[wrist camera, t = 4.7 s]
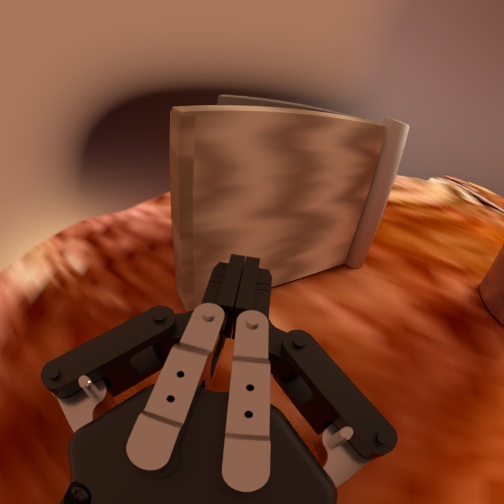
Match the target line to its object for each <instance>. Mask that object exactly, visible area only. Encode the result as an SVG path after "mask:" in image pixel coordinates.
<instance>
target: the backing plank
mask: <svg viewBox="0 0 504 504" xmlns="http://www.w3.org/2000/svg"><path fill="white" fill-rule="evenodd" d="M218 105H237V106H264V107H279V108H291V109H301V110H310V111H318V112H326V113H333V114H339V115H345V116H351V117H356V116H353V115H349V114H345V113H340V112H336V111H332V110H327V109H323V108H318V107H313V106H308V105H302V104H297V103H291V102H284V101H277V100H270V99H263V98H254V97H246V96H235V95H220V96H218ZM357 118H360V117H357ZM362 119H364V118H362ZM382 125H383V126H386V130H385V134H384V138H383V142H382V146H381V150H380V154H379V157H378V161H377V165H376V168H375V172H374V175H373V179H372V182H371V185H370V189H369V192H368V195H367V198H366V201H365V205H364V208H363V211H362V214H361V217H360V220H359V223H358V226H357V229H356V231H355V234H354V237H353V240H352V243H351V246H350V248H349V251H348V254H347V256H346V259H345V262H344V263H345V264H346V265H347V266H349V267H351V268H361V267H362V265H363V263H364V261H365V258H366V256H367V254H368V251H369V249H370V246H371V244H372V241H373V239H374V236H375V233H376V231H377V228H378V226H379V223H380V220H381V217H382V215H383V212H384V209H385V206H386V204H387V201H388V198H389V195H390V192H391V189H392V186H393V183H394V180H395V176H396V173H397V170H398V166H399V163H400V160H401V156H402V153H403V149H404V146H405V142H406V139H407V135H408V130H409V127H410V126H409V125H408V124H405V123H403V122H400V121H398V120H395V119H392V118H389V117H385V116H384V117H383V122H382Z"/></svg>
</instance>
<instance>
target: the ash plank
mask: <svg viewBox="0 0 504 504" xmlns="http://www.w3.org/2000/svg"><path fill="white" fill-rule="evenodd" d="M385 130H386V126H383V125H381V124H378V123H376V122H373V121H370V120H367V119H362V118H357V117H351V116H345V115H339V114H333V113H326V112H318V111H310V110H301V109H291V108H279V107H264V106H237V105H212V106H211V105H208V106H207V105H206V106H182V107H173V110H171V113H170V193H171V218H172V236H173V251H174V263H175V275H176V285H177V293H178V295H179V297H180V300H181V302H182V304H183V307H184V309H185V311H186V312H188V311H192V310H195V308H196V307H197V306H199V305H201V302H202V300H203V297H204V294H205V291H206V288H207V285H208V282H209V279H210V276H211V273H212V271H213V268H214V267H215V266H216V265H217V264H218V263H219V262H224V263H229V260H230V256H231V254H237V255H243V256H245V260H246V256H249V257H256V258H260V263H259V268H262V269H268V270H269V271H270V273H271V275H272V285H271V287H274V286H277V285H280V284H283V283H286V282H289V281H293V280H296V279H299V278H302V277H305V276H308V275H311V274H314V273H317V272H320V271H323V270H326V269H329V268H332V267H335V266H338V265H341V264H344V262H345V259H346V256H347V254H348V251H349V248H350V246H351V243H352V240H353V237H354V234H355V231H356V229H357V226H358V223H359V220H360V217H361V214H362V211H363V208H364V205H365V201H366V198H367V195H368V192H369V189H370V185H371V182H372V179H373V175H374V172H375V168H376V165H377V161H378V157H379V154H380V150H381V146H382V142H383V138H384V134H385Z"/></svg>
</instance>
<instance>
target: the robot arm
mask: <svg viewBox="0 0 504 504" xmlns="http://www.w3.org/2000/svg"><path fill="white" fill-rule="evenodd" d="M259 263H260V258H256V257H249V256H246V260H245V256H243V255H237V254H231V256H230V260H229V263H224V262H219V263H218V264H217V265H216V266H215V267H214V268H213V271H212V273H211V276H210V279H209V282H208V285H207V288H206V291H205V294H204V297H203V300H202V302H201V305H199V306H197V307H196V308H195V310H194V311H192V312H189V313H182V314H175V313H174V312H173V310H172V309H170V308H169V307H166V306H156V307H153V308H151V309H149V310H147V311H145V312H143V313H141V314H139V315H137V316H136V317H134V318H132V319H130V320H128V321H126V322H124V323H122V324H120V325H119V326H117V327H115V328H113V329H111V330H109V331H107V332H105V333H103V334H101V335H99V336H98V337H96V338H94V339H92V340H90V341H88V342H86V343H84V344H82V345H80V346H79V347H77V348H75V349H73V350H71V351H69V352H67V353H65V354H63V355H61V356H59V357H58V358H56V359H54V360H52V361H50V362H48V363H47V364H46V365H45V366H44V367H43V369H42V372H41V379H42V382H43V384H44V385H45V386H46V387H47V388H48V389H49V390H50V391H51V393H52V394H53V395H54V396H55V397H56V398H57V399H58V401H59V403H60V406H61V408H62V410H63V412H64V414H65V416H66V418H67V420H68V422H69V424H70V426H71V428H72V430H73V432H74V434H73V435H72V437H71V439H70V441H69V445H68V456H69V461H70V468H71V481H70V486H69V488H68V490H67V492H66V494H65V496H64V498H63V499H62V501H61V503H60V504H336V502H337V489H336V488H337V487H339V486H340V485H341V484H343V483H344V482H345V481H346V480H348V479H349V478H350V477H352V476H353V475H354V474H355V473H356V472H358V471H359V470H360V469H361V468H362V467H364V466H365V465H366V464H367V463H368V462H370V461H372V460H374V459H376V458H378V457H380V456H383V455H385V454H387V453H389V452H390V451H392V450H393V449H394V447H395V445H396V443H397V433H396V431H395V429H394V428H393V427H392V426H391V425H390V423H389V422H388V421H387V420H386V419H385V418H384V417H383V416H382V415H381V414H380V412H379V411H378V410H377V409H376V408H375V407H374V406H373V405H372V404H371V402H370V401H369V400H368V399H367V398H366V397H365V396H364V395H363V394H362V392H361V391H360V390H359V389H358V388H357V387H356V386H355V385H354V384H353V382H352V381H351V380H350V379H349V378H348V377H347V376H346V375H345V373H344V372H343V371H342V370H341V369H340V368H339V367H338V366H337V364H336V363H335V362H334V361H333V360H332V359H331V358H330V357H329V355H328V354H327V353H326V352H325V351H324V350H323V349H322V348H321V346H320V345H319V344H318V343H317V342H316V341H315V340H314V338H313V337H312V336H311V335H310V334H308V333H307V332H305V331H302V330H292V331H289V332H288V333H286V332H284V331H282V330H280V329H278V328H276V327H275V326H274V325H273V324H272V323H271V322H270V320H269V305H270V295H271V285H272V275H271V273H270V271H269V270H268V269H262V268H259ZM479 290H480V294H481V297H482V299H483V302H484V303H485V305H486V307H487V308H488V309H489V311H490V312H491V313H492V315H493V316H494V317H495V318H496V319H497V320H498V321H499V322H500V323H502V324H503V325H504V244H503V246H502V248H501V250H500V251H499V253H498V255H497V257H496V259H495V260H494V262H493V264H492V266H491V267H490V269H489V271H488V272H487V274H486V276H485V277H484V279H483V280H482V282H481V284H480V287H479ZM232 330H233V333H232ZM231 334H232V339H235V342H234V351H233V360H232V370H231V380H230V390H229V392H213V391H211V387H212V382H213V379H214V376H215V373H216V370H217V367H218V364H219V360H220V357H221V354H222V351H223V347H224V344H225V339H226V338H230V339H231ZM162 368H163V369H162ZM161 369H162V371H161V373H160V375H159V378H158V380H157V382H156V384H153V385H150V386H148V387H146V388H144V389H142V390H140V391H139V392H137V393H136V394H134V395H133V396H131V397H130V398H128V399H126V400H125V401H123V402H122V403H120V404H118V405H117V406H115V407H114V408H112V409H111V407H112V405H113V402H114V399H113V397H115V396H117V395H118V394H120V393H122V392H124V391H125V390H127V389H129V388H131V387H132V386H134V385H136V384H137V383H139V382H141V381H142V380H144V379H146V378H148V377H149V376H151V375H153V374H154V373H156V372H157V371H159V370H161ZM270 373H271V374H273V377H274V379H275V380H276V382H277V383H278V384H279V386H280V387H281V388H282V390H283V391H284V392H285V394H286V395H287V396H288V398H289V399H290V400H291V402H292V403H293V404H294V405H295V407H296V408H297V409H298V411H299V412H300V413H301V414H302V416H303V417H304V418H305V419H306V421H307V422H308V423H309V424H310V426H311V427H312V428H313V429H314V431H315V432H316V433H317V434H318V436H317V437H316V439H315V442H314V448H315V451H316V452H317V454H318V456H319V462H318V461H317V459H316V458H315V457H314V455H313V454H312V453H311V451H310V450H309V449H308V447H307V446H306V444H305V443H304V442H303V440H302V439H301V438H300V436H299V435H298V433H297V432H296V431H295V429H294V428H293V426H292V425H291V424H290V422H289V421H288V419H287V418H286V417H285V415H284V414H283V413H282V412H281V411H280V410H279V409H278V408H276V407H275V406H273V405H272V404H270Z"/></svg>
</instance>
